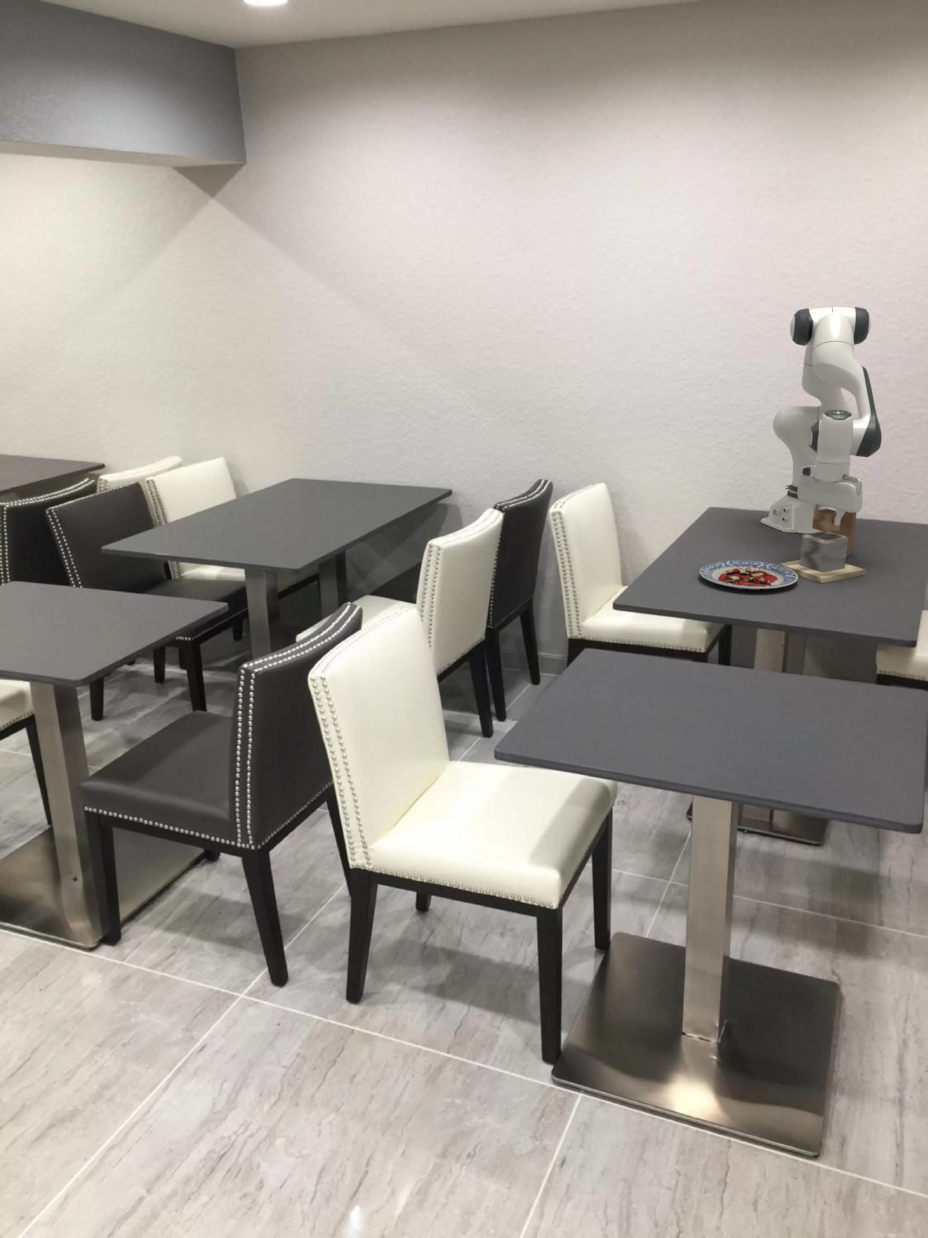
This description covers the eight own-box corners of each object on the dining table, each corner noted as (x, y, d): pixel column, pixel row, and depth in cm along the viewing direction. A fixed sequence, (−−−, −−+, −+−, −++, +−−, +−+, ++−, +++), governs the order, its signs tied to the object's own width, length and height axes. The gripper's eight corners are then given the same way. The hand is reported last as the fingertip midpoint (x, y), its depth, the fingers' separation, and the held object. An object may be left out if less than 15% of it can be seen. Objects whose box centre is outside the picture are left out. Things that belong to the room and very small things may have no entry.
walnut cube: (812, 528, 278) (813, 510, 276) (825, 526, 280) (827, 508, 278) (825, 532, 274) (827, 514, 272) (839, 529, 276) (841, 511, 274)
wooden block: (845, 559, 292) (852, 498, 286) (829, 557, 294) (835, 496, 289) (852, 552, 299) (859, 492, 294) (836, 550, 302) (843, 490, 296)
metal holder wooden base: (778, 568, 284) (782, 533, 281) (820, 561, 291) (824, 526, 288) (821, 583, 271) (825, 546, 267) (864, 574, 278) (869, 538, 274)
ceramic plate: (794, 599, 259) (795, 588, 258) (692, 590, 267) (693, 579, 266) (799, 572, 282) (800, 562, 281) (705, 564, 290) (706, 554, 289)
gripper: (871, 477, 264) (865, 528, 269) (812, 465, 282) (807, 513, 286) (853, 479, 262) (847, 531, 266) (795, 467, 279) (791, 516, 283)
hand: (826, 522), depth 276 cm, fingers closed on walnut cube, 5 cm apart
